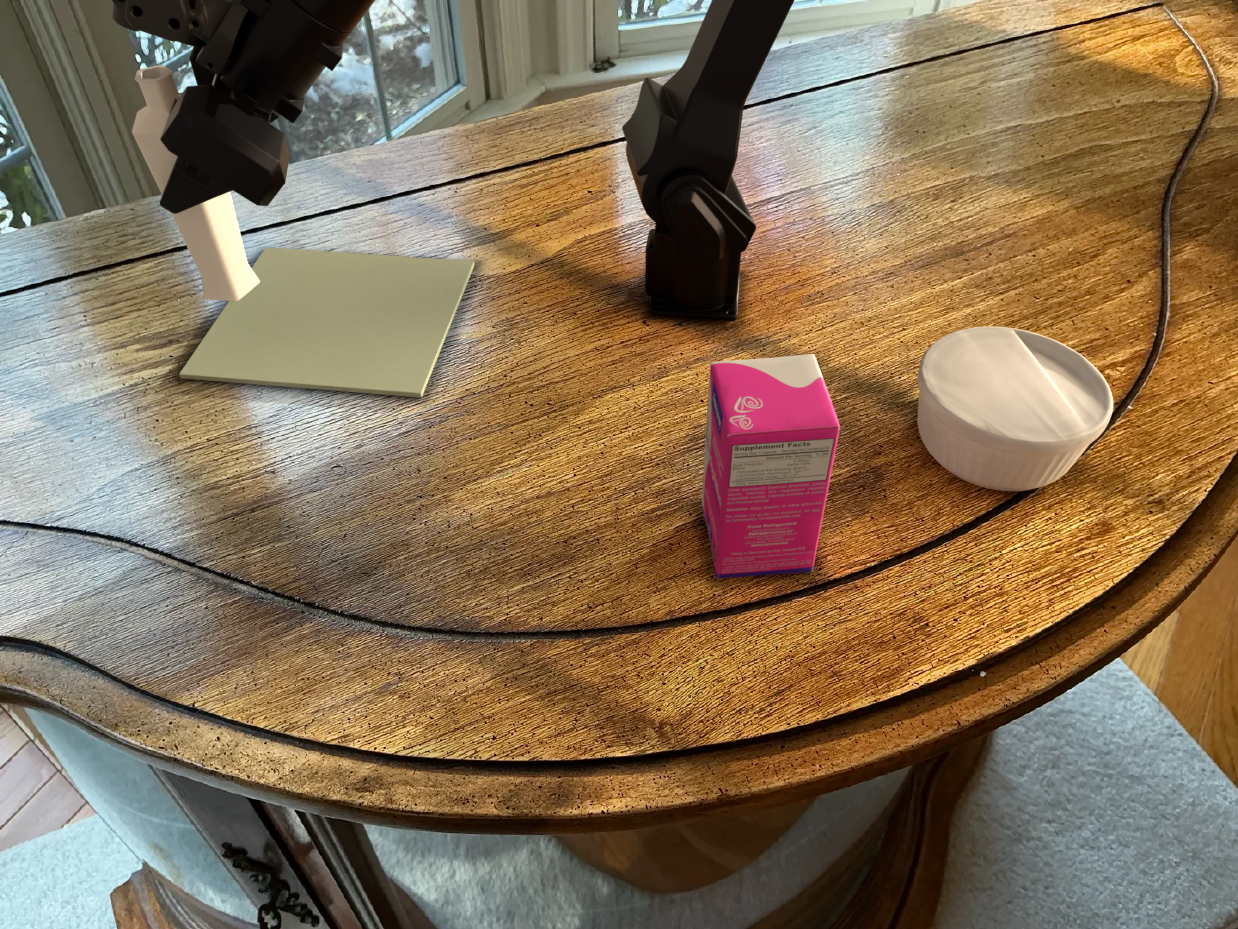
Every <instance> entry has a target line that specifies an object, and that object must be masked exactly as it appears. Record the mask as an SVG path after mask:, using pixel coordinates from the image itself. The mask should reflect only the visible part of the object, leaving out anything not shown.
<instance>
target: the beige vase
mask: <svg viewBox="0 0 1238 929" xmlns="http://www.w3.org/2000/svg"><path fill="white" fill-rule="evenodd" d="M173 74H174V70H172V69H171V68H169V67H167V66H166V65H163V64H158V65H154V66H153V65H152V66H149V67H144V68H140V69H137V71H136V72H135V77H134V81H135V82H137V83H138V85H139V87H140V91H141V93H142V96H143V98H144V100H145V104H146V105H145V106H144V107H142V108H141V109H139V110H137V112H136V115H135V119H134V123H133V126H132V129H131V133H132V135H133V137H134V140H135V142H136V144H137V146H138V148H139V150H140V152H141V154H142V157H143V158H144V161H145V163H146V165H147V167H148V169H149V171H150V173H151V175H152V177H153V179H154V182H155V183H156V185H157V187H158V189H159V192H160V194H161V195H162V194H163V192H164V189H165V187H166V184H167V181H168V179H169V176H170V174H171V171H172V169H173V166H174V164H175V161H176V158H177V156H176V155H174V154H173V153H171V152H170V151H168V149H167V148H166V147H165V145H164V144H163V143H162V141H161V140H160V138H161V136H162V133H163V130H164V127H165V124H166V122H167V119H168V116H169V113H170V111H171V108H172V105H173V102H174V100H175V99H177V100H178V99H179V97H180V95H179V92H178V89H177V86H176V83H175V81H174V77H173ZM169 212H170V211H169ZM170 215H171V217H172V218H173V221H174V223H175V225H176V227H177V229H178V231H179V233H180V235H181V237H182V239H183V241H184V244H185V246H186V248H187V250H188V253H189V254H190V257H191V258H192V261H193V263H194V265H195V267H196V268H197V271H198V273H199V275H200V277H201V288H202V289H201V290H202V298H203V299H204V300H210V301H226V302H229V301H238V300H240V299H241V298H242V297H244V296H245V295H246V294H247V293H248V292H249V291H251V290H252V289H253V288H254V287H255V286H256V285H258V284H259V283H260V280H259V279H258V277H257V276H256V274H255V273H254V271H253V270H252V267H251V265H250V264H249V262H248V258H247V254H246V250H245V245H244V243H243V237H242V234H241V230H240V227H239V226H240V225H239V222H238V218H237V214H236V209H235V206H234V202H233V197H232V194H231V192H228V193H225V194H223V195H220V196H218V197H215V198H213V199H211V200H208V201H206V202H203V203H201V204H199V205H196V206H194V207H192V208H189V209H187V210H185V211H182V212H180V213H177V214H174V213H171V212H170Z"/></svg>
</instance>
